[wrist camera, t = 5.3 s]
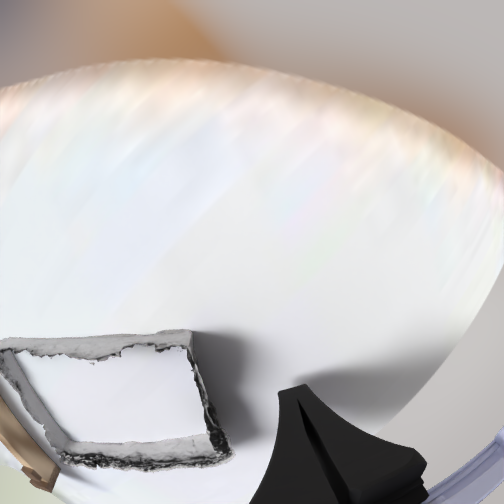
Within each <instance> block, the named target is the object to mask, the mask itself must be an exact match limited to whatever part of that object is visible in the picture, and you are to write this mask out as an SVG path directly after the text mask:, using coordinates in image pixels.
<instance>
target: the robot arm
mask: <svg viewBox="0 0 504 504" xmlns="http://www.w3.org/2000/svg"><path fill="white" fill-rule="evenodd" d="M278 397H279V423H278V430H277V436H276V441H275V446H274V449H273V453H272V456H271V459H270V462H269V465H268V468H267V470H266V473H265V475H264V477H263V479H262V481H261V483H260V485H259V487H258V489H257V491H256V493H255V494H254V496H253V498H252V499H251V501H250V503H249V504H479V503H480V502H481V501H482V500H483V499H484V498H486V497H487V496H488V495H489V494H490V493H491V492H492V491H493V490H494V489H495V488H497V487H498V486H499V485H500V484H501V483H502V481H504V426H503V427H502V428H501V429H500V431H499V432H498V433H497V435H496V437H495V439H494V440H493V441H492V442H491V443H490V444H489V445H488V446H486V447H485V448H484V449H483V450H482V451H481V452H480V453H478V454H477V455H476V456H475V457H474V458H473V459H471V460H470V461H469V462H467V463H466V464H465V465H464V466H462V467H461V468H460V469H458V470H457V471H456V472H454V473H453V474H451V475H450V476H449V477H447V478H446V479H444V480H443V481H441V482H440V483H438V484H437V485H436V486H434V487H432V488H431V489H429V490H427V491H426V489H425V488H424V486H423V483H424V481H423V480H422V478H421V475H422V474H423V472H424V470H425V468H426V466H427V462H426V461H425V459H424V458H423V457H422V456H421V455H420V454H419V453H418V452H417V451H416V450H415V449H414V448H410V447H405V446H401V445H397V444H394V443H391V442H388V441H385V440H382V439H380V438H377V437H375V436H373V435H370V434H368V433H366V432H364V431H362V430H360V429H359V428H357V427H355V426H354V425H352V424H350V423H349V422H347V421H346V420H344V419H343V418H341V417H340V416H339V415H337V414H336V413H335V412H334V411H332V410H331V409H330V408H329V407H328V406H327V405H325V404H324V403H323V402H322V401H321V400H320V399H319V398H318V397H317V396H316V395H315V394H314V393H313V392H312V391H311V389H310V388H309V387H308V386H307V385H306V384H303V385H300V386H296V387H293V388H289V389H286V390H282V391H279V392H278Z"/></svg>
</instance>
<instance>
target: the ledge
mask: <svg viewBox="0 0 504 504" xmlns="http://www.w3.org/2000/svg"><path fill="white" fill-rule="evenodd" d="M0 441H1V442H2V443H3V444H4V445H5V447H6V448H7V449H8V450H9V451H10V452H11V453H12V454H13V455H14V457H15V458H16V459H17V460H18V461H19V462H20V463H21V464H22V465H23V467H22V469H21V470H22V471H23V472H24V473H25V474H26V475H27V476H28V477H29V478H30V479H31V480H30V483H31V484H32V485H33V486H35V487H36V488H39V489H42V490H45V491H47V492H50V493H52V490H53V488H54V485H55V482H56V480H57V477H58V475H59V472H60V470H61V469H60V468H59V467H58V466H57V465H56V464H55V463H54V462H53V461H52V460H51V459H50V458H49V457H48V456H47V455H46V454H45V453H44V451H43V450H42V449H41V448H40V447H39V446H38V445H37V444H36V443H35V441H34V440H33V439H32V438H31V437H30V435H29V434H28V433H27V432H26V431H25V429H24V428H23V427H22V426H21V424H20V423H19V422H18V420H17V419H16V418H15V416H14V415H13V414H12V412H11V411H10V410H9V408H8V407H7V405H6V404H5V402H4V401H3V399H2V398H1V396H0Z"/></svg>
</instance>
